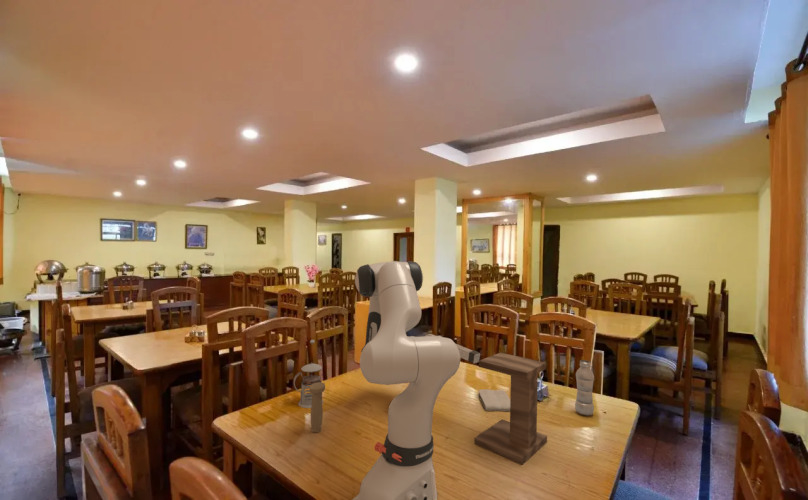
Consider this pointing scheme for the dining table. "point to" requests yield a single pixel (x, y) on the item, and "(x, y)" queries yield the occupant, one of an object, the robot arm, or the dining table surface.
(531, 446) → the mount stand
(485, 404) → the washcloth
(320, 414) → the handle
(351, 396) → the dining table surface
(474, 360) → the grey square bar
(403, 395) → the robot arm
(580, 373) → the plastic bottle
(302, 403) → the french press
